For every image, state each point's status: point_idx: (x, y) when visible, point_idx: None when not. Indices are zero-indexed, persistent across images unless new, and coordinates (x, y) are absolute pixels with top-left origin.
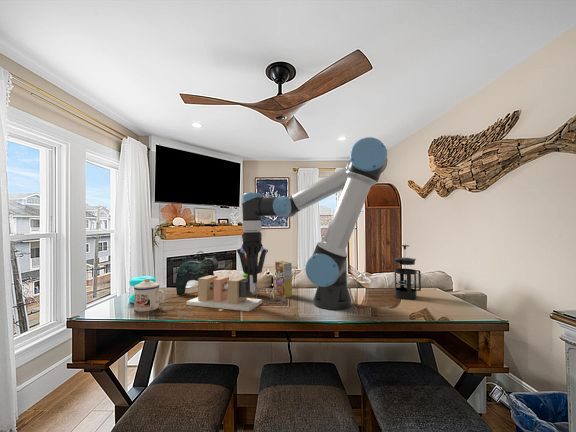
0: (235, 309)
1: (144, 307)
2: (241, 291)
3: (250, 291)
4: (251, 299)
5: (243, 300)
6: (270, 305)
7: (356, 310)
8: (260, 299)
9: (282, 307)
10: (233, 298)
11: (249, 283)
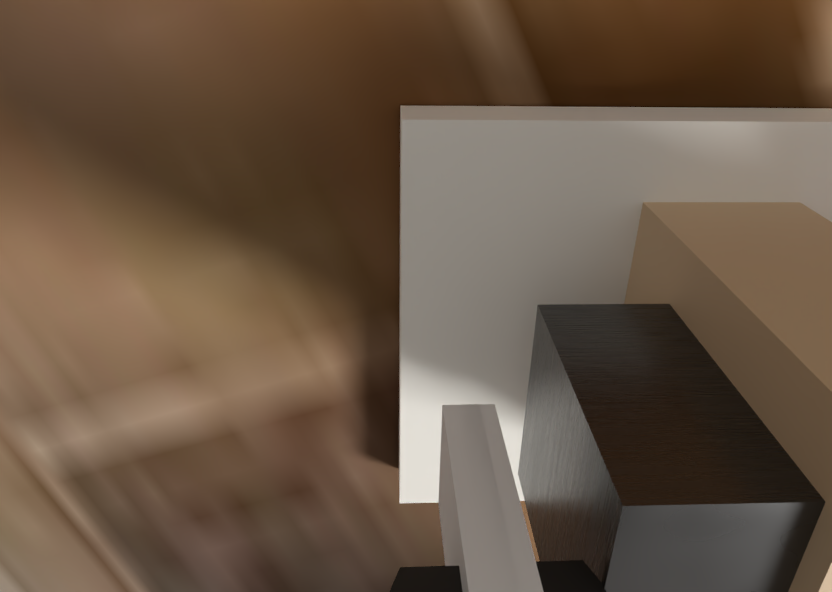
0: (624, 107)
1: None
2: (660, 360)
3: (486, 409)
4: None
5: None
6: (252, 420)
7: None
8: (416, 495)
9: (64, 393)
10: (751, 237)
11: None
